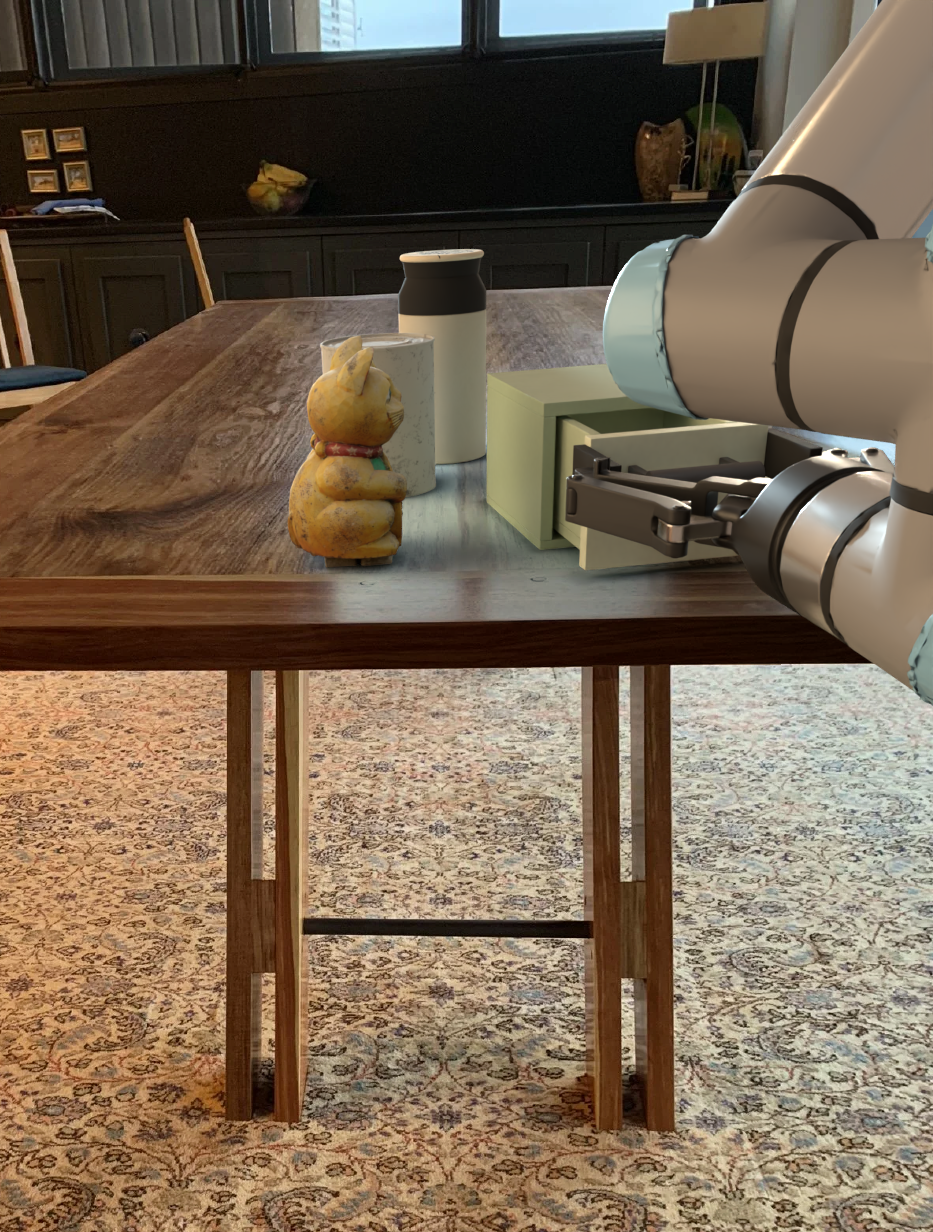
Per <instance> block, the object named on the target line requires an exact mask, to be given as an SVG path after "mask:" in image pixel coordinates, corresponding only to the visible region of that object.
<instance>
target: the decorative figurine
mask: <svg viewBox="0 0 933 1232" xmlns="http://www.w3.org/2000/svg"><path fill="white" fill-rule="evenodd" d="M353 336H354V335H353ZM373 353H374V348H373V347H367V348H365V349H363V350H362V338H361V336H354V337H351V338H349V339H347V340H346V341H344V342H343V343H342V344H341V345H340V346H339V347H338V348H337V350H336V351H335V353H334V355H333V357H332V359H331V365H330V371H329V372H327V373H325V374H323V373H322V375H320V376H319V377H318V378H317V379H316V381H315V382H313V384H312V385H311V387H310V390H309V392H308V396H307V401H306V410H307V420H308V423H309V425H310V428H311V431H312V432H313V434H312V436H310V440H309V444H310V447H311V448H312V449H311V451H310V452H309V454H308V455H307V457H306V460H305V461H304V462H303V463H302V464H301V466H300V468H299V469H298V471H296V474H295V477H294V478H293V481H292V484H291V486H290V490H289V498H288V516H287V521H286V522H287V531H288V535H289V539H290V540H291V542H292V544H293V545H294V546H295V548H296V549H302V551H304V552H306V553H309V554H310V555H311V556H312V557H318V556H319V557H322V558H324V566H325V568H340V567H352V566H353V567H356V566H359V565H361V566H364V567H367V566H368V567H369V566H379V565H390V564H393V557H394V556H396V555H397V553H398V551H399V548H400V547H401V546H402V543H403V542H402V541H403V515H404V512H403V508H404V506H403V505H404V504H403V503H404V500H405V499H406V498H407V497H406V493H407V481H406V478H405V477H404V475H403V474H398V473H395V472H393V470H392V467H391V465H390V462H389V460H388V458H387V456H386V455H385V453H384V452H383V448H382V445H383V444H385V443H387V442H388V441H389V440H390V439H391V438H392V436H393V434H394V433H395V431H396V430H397V429H398V427H399V426H400V424H401V423H402V421H403V419H404V407H403V405H402V403H401V397H402V396H401V392H400V391H399V390H398V389H397V388H396V387H395V386H394V384H393V382H392V380H391V378H390V377H389V375H388V374H386V373H384V372H383V371H381V370H380V369H377V368H376V365H375V363H374V362H373Z"/></svg>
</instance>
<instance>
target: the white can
mask: <svg viewBox="0 0 933 1232" xmlns="http://www.w3.org/2000/svg"><path fill="white" fill-rule="evenodd" d="M354 336H361V338H362V350H363V349H365V348H367V347H373V348H374V353H373V362H374V363H375V365H376V368H377V369H380V370H381V371H383V372H384V373H386V374H388V375H389V377H390V378H391V380H392V382H393V384H394V386H395V387H396V388H397V389H398V390H399V391H400V392H401V396H402V397H401V403H402V405H403V407H404V419H403V421H402V423H401V424H400V426H399V427H398V429H397V430H396V431H395V433H394V434H393V436H392V438H391V439H390V440H389V441H388V442H387V443H385V444H383V445H382V448H383V452H384V453H385V455H386V456H387V458H388V460H389V462H390V465H391V467H392V470H393V472H395V473H398V474H403V475H404V477H405V478H406V481H407V493H406V497H405V498H411V497H415V496H419V495H422V494H426V493H429V492H430V491H432V490H434V489H436V487H437V482H436V481H437V479H436V464H435V404H434V341H435V337H434V336H432V335H427V334H418V333H399V332H381V333H366V334H355V335H346V336H339V337H335V338H330V339H327V340H324V341H321V342H320V344H319V348H320V350H321V351H320V352H321V369H322V375H323V374H325V373H327V372H329V371H330V365H331V359H332V357H333V355H334V353H335V351H336V350H337V348H338V347H339V346H340V345H341V344H342V343H343V342H344V341H346V340H347V339H349V338H351V337H354Z"/></svg>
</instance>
